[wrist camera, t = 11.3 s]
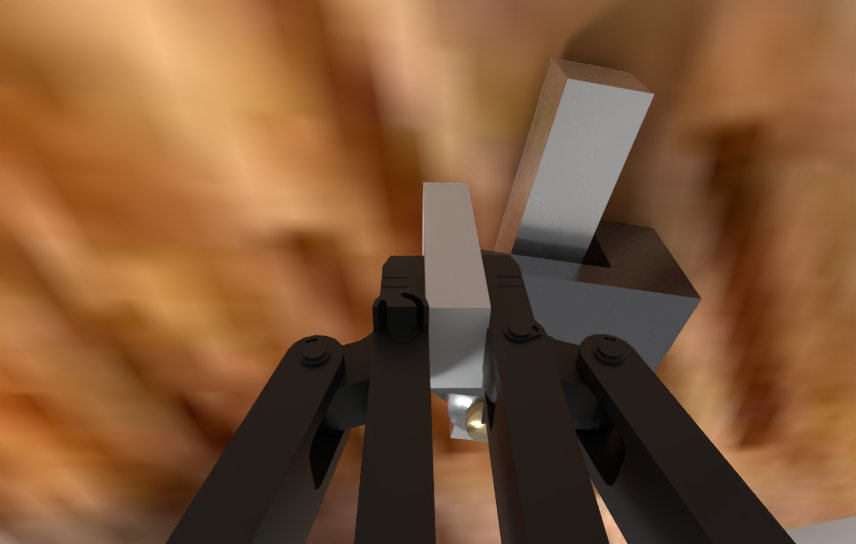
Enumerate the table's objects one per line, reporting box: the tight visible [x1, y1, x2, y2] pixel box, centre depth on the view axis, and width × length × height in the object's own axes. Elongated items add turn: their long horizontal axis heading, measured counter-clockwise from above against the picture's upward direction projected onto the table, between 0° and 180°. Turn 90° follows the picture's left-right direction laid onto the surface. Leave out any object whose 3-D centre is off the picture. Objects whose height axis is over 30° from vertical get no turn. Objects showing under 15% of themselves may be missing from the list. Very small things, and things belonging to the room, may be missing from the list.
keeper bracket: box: [431, 221, 701, 443], centre depth 29 cm, size 16×11×6 cm
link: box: [447, 57, 654, 440], centre depth 27 cm, size 22×5×3 cm, turn 170°
